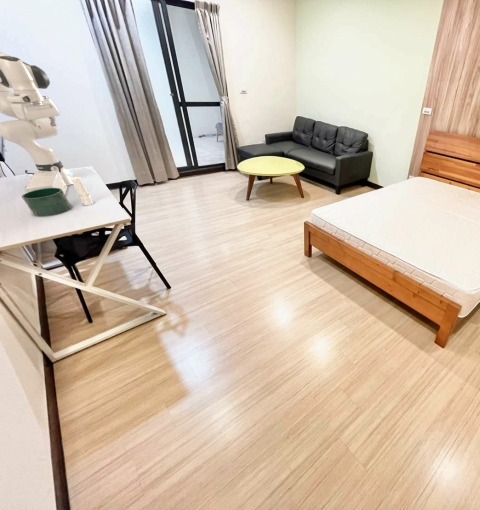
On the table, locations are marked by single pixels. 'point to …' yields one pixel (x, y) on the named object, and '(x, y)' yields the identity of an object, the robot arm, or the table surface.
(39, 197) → the pot
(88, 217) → the table surface
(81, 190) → the tube
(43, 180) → the cream long block
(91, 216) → the table surface
